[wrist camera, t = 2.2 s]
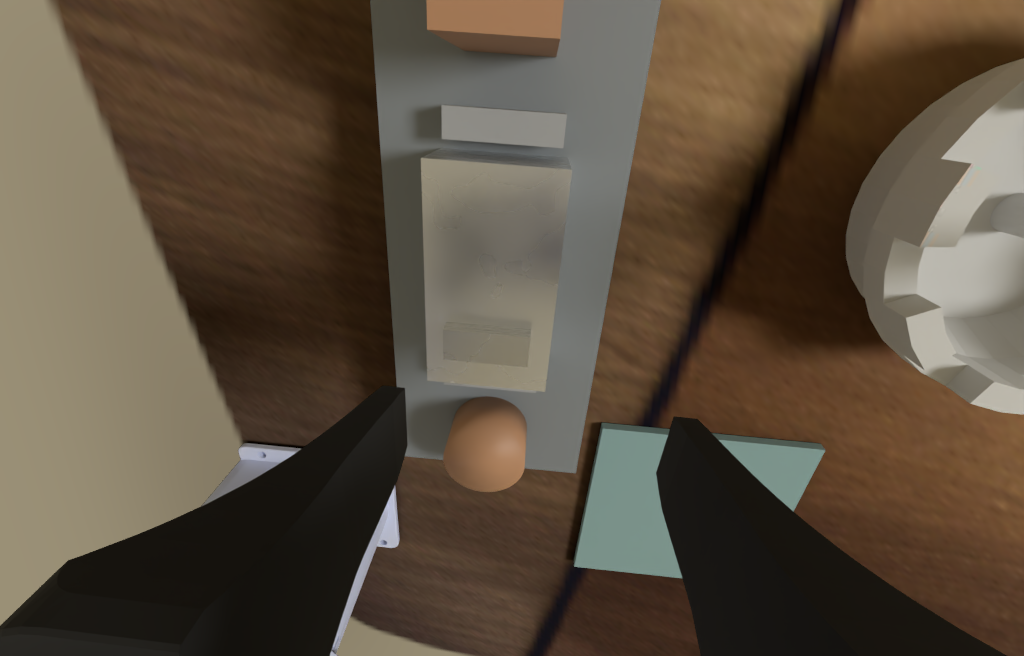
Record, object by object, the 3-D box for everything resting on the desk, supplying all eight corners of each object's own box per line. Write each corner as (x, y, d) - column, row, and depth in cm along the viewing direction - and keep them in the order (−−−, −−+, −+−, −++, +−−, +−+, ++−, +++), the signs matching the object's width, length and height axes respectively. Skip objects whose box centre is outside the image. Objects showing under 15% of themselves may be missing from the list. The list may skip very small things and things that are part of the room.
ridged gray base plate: (416, 418, 25) (366, 541, 18) (394, -84, 15) (261, -240, 8) (572, 433, 25) (582, 564, 18) (656, -68, 15) (754, -217, 8)
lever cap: (443, 342, 20) (423, 389, 16) (442, 147, 16) (415, 160, 13) (545, 351, 19) (545, 401, 16) (567, 157, 16) (573, 172, 12)
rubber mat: (573, 559, 30) (574, 566, 30) (601, 422, 25) (602, 428, 24) (751, 578, 30) (754, 586, 29) (820, 443, 24) (825, 450, 24)
